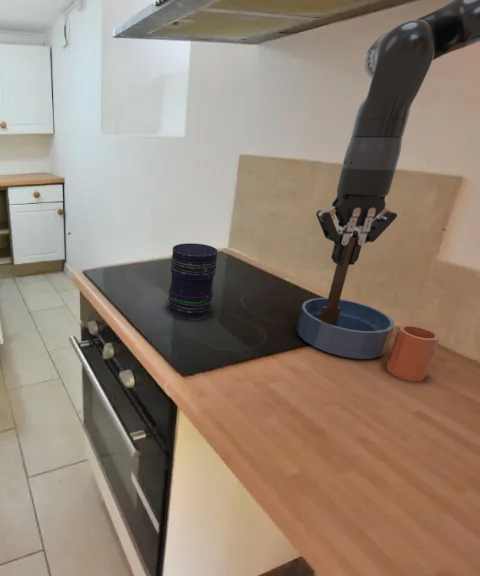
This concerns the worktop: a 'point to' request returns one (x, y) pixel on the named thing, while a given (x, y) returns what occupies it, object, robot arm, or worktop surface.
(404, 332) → the utensil holder
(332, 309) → the stirring stick
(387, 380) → the worktop surface
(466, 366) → the worktop surface
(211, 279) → the storage jar
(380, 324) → the bowl
